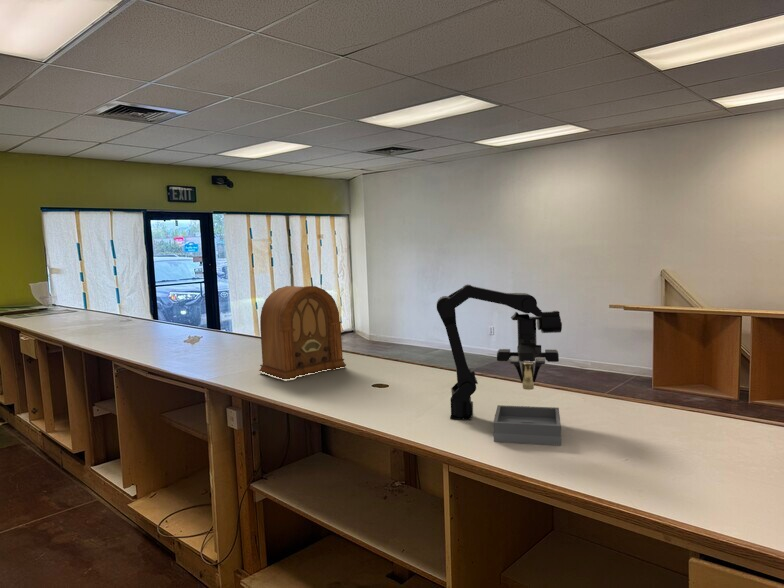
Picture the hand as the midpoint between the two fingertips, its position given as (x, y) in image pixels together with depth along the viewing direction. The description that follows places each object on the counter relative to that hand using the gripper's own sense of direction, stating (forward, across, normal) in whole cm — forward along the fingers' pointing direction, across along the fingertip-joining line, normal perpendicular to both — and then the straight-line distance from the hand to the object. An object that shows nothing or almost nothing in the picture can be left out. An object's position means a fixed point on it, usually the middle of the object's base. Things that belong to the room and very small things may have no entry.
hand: (528, 381), depth 165 cm
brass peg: (+2, 0, 0) cm, 2 cm away
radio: (+11, -103, +50) cm, 115 cm away
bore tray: (+11, 0, -16) cm, 19 cm away
